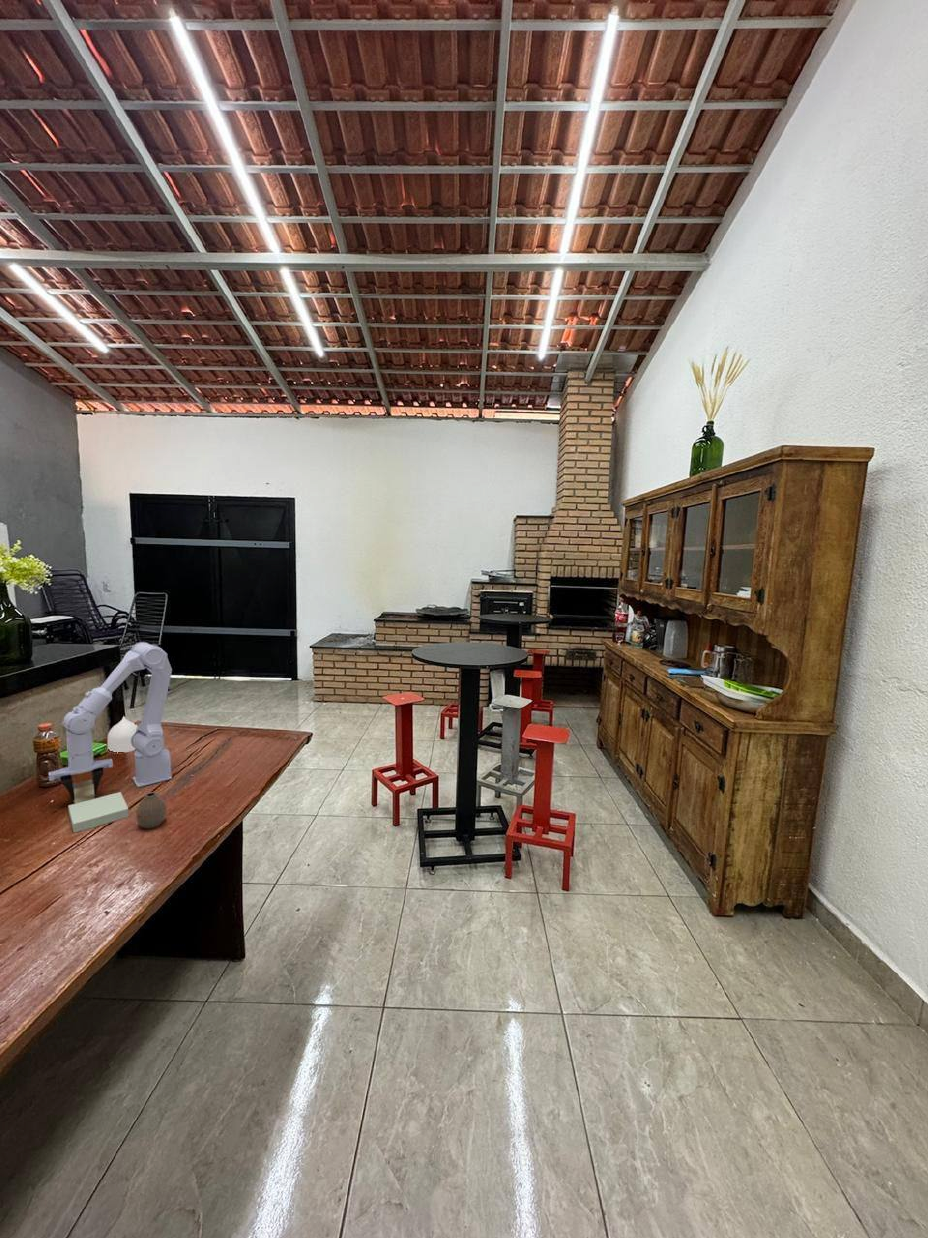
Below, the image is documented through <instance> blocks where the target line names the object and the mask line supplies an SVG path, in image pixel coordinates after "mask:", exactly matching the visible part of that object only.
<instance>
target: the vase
mask: <svg viewBox="0 0 928 1238" xmlns="http://www.w3.org/2000/svg"><path fill="white" fill-rule="evenodd" d="M167 811H168V810H167V804H166V802H165V800H164V799H162V798H161V797H160V796H159V795H157V793H156V792H153V791H152V792H148V793H146V794H145V795H144V798H143V799H141V802H140V803H139V805H138V806H137V809H136V812H135V813H136V815H135V817H136V820H137V823H138V825H139V826H141V827H142V828H144V829H154V828H156V827H159V826H160V825H161V824H162V823H163V822H164V821H165V819H166V816H167Z"/></svg>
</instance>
